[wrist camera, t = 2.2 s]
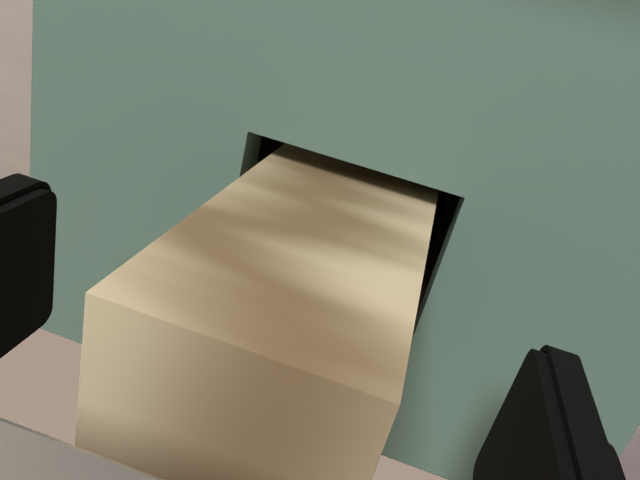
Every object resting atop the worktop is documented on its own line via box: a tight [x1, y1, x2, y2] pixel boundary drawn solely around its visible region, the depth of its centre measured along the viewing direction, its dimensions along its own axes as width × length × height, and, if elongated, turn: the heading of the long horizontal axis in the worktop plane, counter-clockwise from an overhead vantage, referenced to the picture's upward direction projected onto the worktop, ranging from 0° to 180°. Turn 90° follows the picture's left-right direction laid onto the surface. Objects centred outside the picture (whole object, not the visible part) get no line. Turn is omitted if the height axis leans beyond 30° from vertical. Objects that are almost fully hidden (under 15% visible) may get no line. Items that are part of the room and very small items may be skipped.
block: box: [75, 143, 439, 480], centre depth 15 cm, size 4×4×16 cm
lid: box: [30, 0, 640, 480], centre depth 11 cm, size 16×20×4 cm
